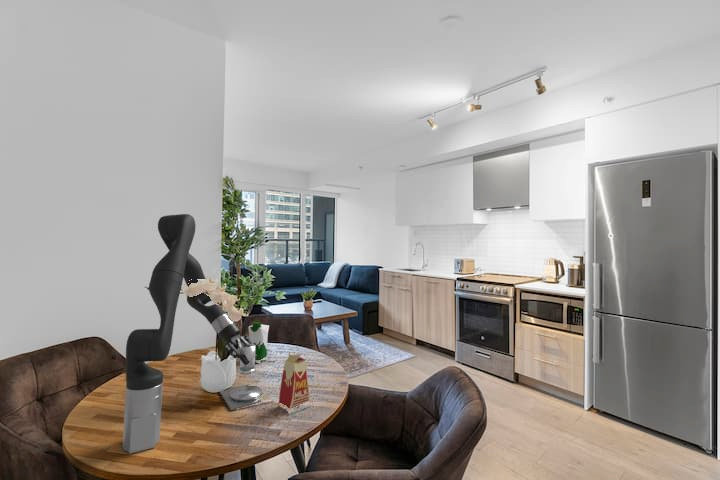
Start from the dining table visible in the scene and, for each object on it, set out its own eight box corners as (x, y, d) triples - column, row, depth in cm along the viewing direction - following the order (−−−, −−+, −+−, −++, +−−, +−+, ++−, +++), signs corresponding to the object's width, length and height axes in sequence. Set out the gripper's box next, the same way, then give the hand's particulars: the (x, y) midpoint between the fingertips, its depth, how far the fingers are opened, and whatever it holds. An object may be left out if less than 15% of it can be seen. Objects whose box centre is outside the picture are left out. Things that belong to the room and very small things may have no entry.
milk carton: (310, 406, 127) (313, 353, 127) (289, 414, 120) (292, 357, 121) (297, 398, 133) (299, 347, 134) (276, 405, 127) (278, 351, 127)
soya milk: (244, 362, 171) (246, 322, 172) (255, 357, 180) (257, 319, 180) (259, 364, 169) (261, 324, 169) (269, 359, 177) (271, 321, 178)
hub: (258, 372, 132) (259, 346, 132) (240, 375, 128) (242, 349, 128) (252, 367, 137) (254, 342, 138) (236, 370, 134) (237, 344, 134)
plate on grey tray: (273, 401, 130) (274, 396, 130) (230, 411, 121) (230, 405, 121) (258, 384, 144) (259, 380, 144) (219, 392, 135) (219, 387, 135)
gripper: (221, 325, 128) (249, 361, 125) (241, 318, 142) (266, 349, 139) (208, 338, 128) (235, 373, 126) (229, 329, 143) (254, 361, 140)
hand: (251, 360), depth 133 cm, fingers closed on hub, 5 cm apart
